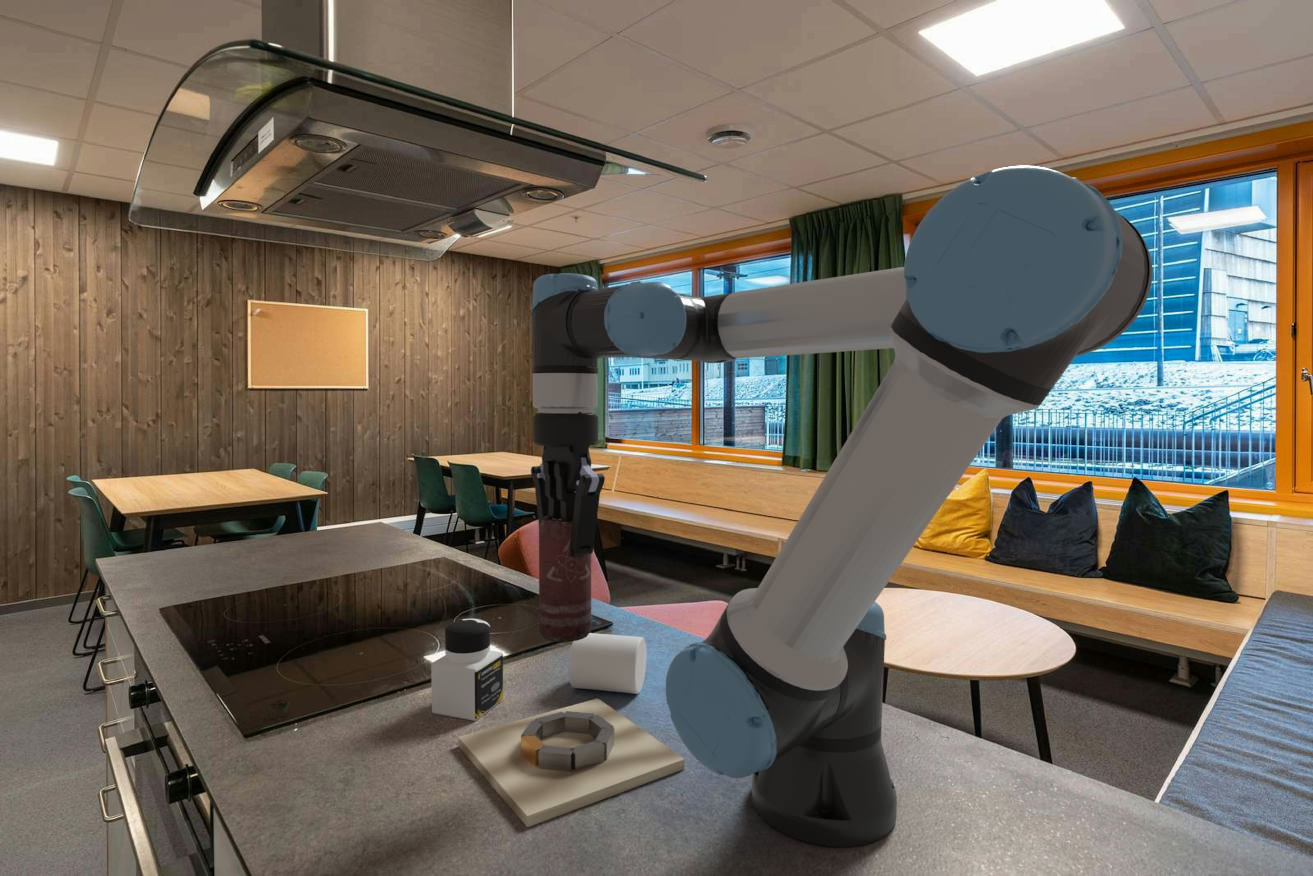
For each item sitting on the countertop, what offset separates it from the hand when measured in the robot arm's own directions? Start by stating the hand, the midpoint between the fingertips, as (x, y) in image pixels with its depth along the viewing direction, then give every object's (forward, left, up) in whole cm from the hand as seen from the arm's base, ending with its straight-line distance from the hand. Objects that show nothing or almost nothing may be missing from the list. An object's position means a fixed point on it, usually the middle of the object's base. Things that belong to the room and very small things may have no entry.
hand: (566, 610), depth 84 cm
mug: (+16, -16, -19) cm, 30 cm away
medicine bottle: (+20, +5, -18) cm, 28 cm away
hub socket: (0, 0, -17) cm, 17 cm away
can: (0, 0, -3) cm, 3 cm away
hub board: (0, 0, -18) cm, 18 cm away
